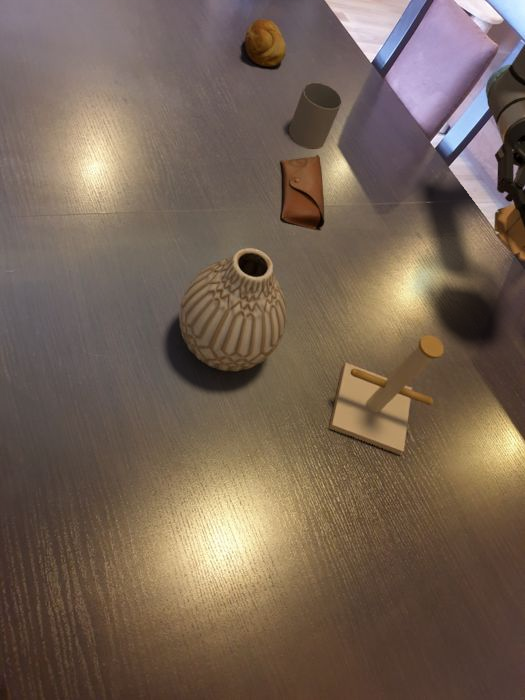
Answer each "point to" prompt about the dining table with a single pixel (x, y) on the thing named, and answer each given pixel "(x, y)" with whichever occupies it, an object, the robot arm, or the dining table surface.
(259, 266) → the vase
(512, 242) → the hat
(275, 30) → the bread roll
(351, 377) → the stand
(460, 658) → the dining table surface
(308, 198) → the sunglasses case
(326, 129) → the cup
